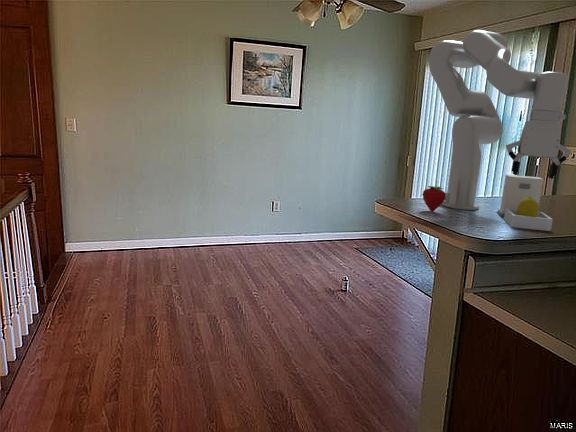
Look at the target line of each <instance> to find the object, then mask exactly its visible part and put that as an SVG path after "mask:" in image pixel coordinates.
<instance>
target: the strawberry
mask: <svg viewBox="0 0 576 432" xmlns="http://www.w3.org/2000/svg"><path fill="white" fill-rule="evenodd" d="M438 183H439V181H438V180H437V181H436V184H438ZM426 187H428V188H426V189H424V190H423V191H422V198H423V201H424V203H425V205H426V206H427V209H429V211H430V212H435V211H436V210H437V209H438V208H439V207H440V206H442V205H441V204H442V203H443V202H444V199H445V197H446V195H445V192H446V191H444V190H443V188H442V187H441V186H438V185H436V186H433V185H427V186H426Z"/></svg>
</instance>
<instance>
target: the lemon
mask: <svg viewBox="0 0 576 432" xmlns="http://www.w3.org/2000/svg"><path fill="white" fill-rule="evenodd" d="M538 212H539V207H538V204H537V202H536V201H535V200H534V199H532V197H528V198H525V199H523V200H522V201H521V202H520V203H519V206H518V209H517V213H518V215H520V216H530V217H536V216H537V214H538Z"/></svg>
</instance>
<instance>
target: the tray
mask: <svg viewBox="0 0 576 432" xmlns="http://www.w3.org/2000/svg"><path fill="white" fill-rule="evenodd" d="M503 220H504V221H505V222H506V223H507V225H508V226H510V227H511V228H518V229H527V230H535V231H536V230H537V231H545V232H551V231H552V226H553V221H554V220H553V218H552V217H550V216H549V215H547V214H546V213H544V212H542V211H538V214H537V216H536V217H530V216H520V215H518V213H517V210H515V209H505V215H504V218H503Z"/></svg>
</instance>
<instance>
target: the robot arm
mask: <svg viewBox="0 0 576 432" xmlns="http://www.w3.org/2000/svg"><path fill="white" fill-rule="evenodd" d="M511 58H512V53H511V51H510V49H509V48H508V47H507V42H506V38H505V37H504V36H503V35H502V34H501V33H498V32H492V31H489V30H488V31H487V30H482V29H477V30H472V31H471V32H469V33H467V34H466V35H465V36H464V39H463V41H458V40H450V39H449V40H441V41H438V42H437V43H435V44H434V45H433V46H432V48H431V50H430V53H429V59H428V67H429V68H428V69H429V72H430V74H431V76H432V79H433V80H434V82H435V84H436V86H437V88H438V90H439V92H440V96H441V99H442V100H443V102H444V105H445V107H446V109H447V112H448V113H449V114H450V116H452V117H455V118H456V119H455V121H454V122H453V125H452V129H451V133H452V134H451V135H452V152H451V159H450V160H451V162H450V168H449V175H448V184H447V191H446V190H445V191H444V192H445V195H446V197H445V199H444V202H443V203H442V204H441V205H440V206H443V207H446V208H449V209H450V208H451V209H456V210H465V211H467V210H468V211H476V210H478V209H479V207H480V205H479V204H478V203H476V198H477V197H476V196H477V189H478V183H479V175H480V170H481V163H482V152H481V148H480V145H490V144H494V143H497V142H498V141H499V140H500V139H501V138H502V135H503V131H504V130H503V129H504V128H503V127H504V126H503V124H502V121H501V118H500V115H499V114H498V112H497V111H498V110H497V109H496V107H495V104H494V102H493V100H492V99H491V97H490V96H489V95H488V94H487V93H486V92H483V91H481V90H472V89H470V88H468V87H467V85H466V83H465V81H464V78H463V76H462V75H461V74H460V72H458V70H456V69H455V68H463V69H471V68H474V67H478V66H480V67H481V68H483V70H485V72H486V73H485V74H486V78H487V81H488V82H489V83H490V84H491V86H493V87H494V88H495V89H496V90H498V91H499V92H500V93H501V94H503V95H505V96H507V97H510V98H521V99H527V100H530V99H531V100H533V101H532V105H531V109H530V116H529V120H525V123H524V125H523V127H522V130H521V134H520V137H519V140H516V141H514V142H510V143H508V144H506V145H505V148H506V151H507V155H508V156H509V157H510V158H511V160H512V165H511V170H510V171H511V172H512V175H517V176H519V175H518V174H519V169H520V165H521V163H520V160H521V159H522V158H523V157H524V156H525V157H526V156H527V157H534V158H547V159H550V161H551V164H549V168H548V174H547V178H549V179H550V180H553V179H554V178H555V177H556V176H557V172H558V167H559V166H560V165H561V164H562V163H564V162H565V161H566V160H567V158H569V156H570V155H571V154H572V150H571V149H569V148H567V147H566V146H564V145H563V144H561V136H562V124H561V123H560V121H561V120H565V119H566V117H567V115H566V114H563V113H562V109H563V106H564V105H563V104H564V100H565V99H564V98H565V95H566V89H567V85H568V81H569V77H568V73H565V72H560V71H544V72H541V73H540V72H533V71H529V70H518V69H517V68H515V67H513V66H512V65H511V64H510V62H511ZM515 147H517V153H516V154H515V152H514V151H513V148H515ZM559 151H561V152H563V154H562V155H561V156H559V157H557V156H558V154H559Z"/></svg>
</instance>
